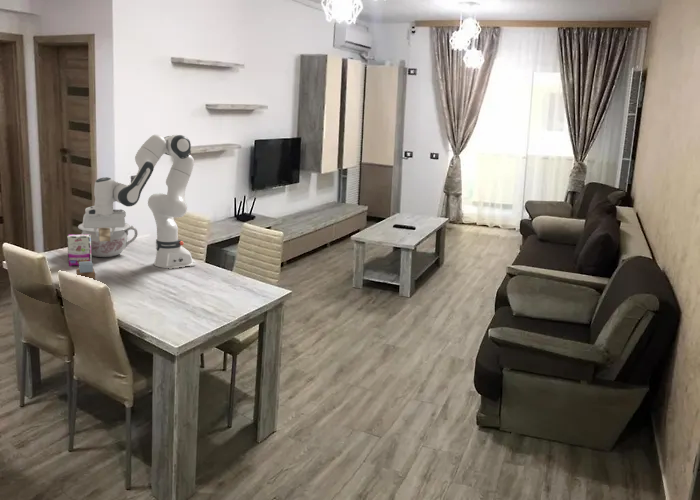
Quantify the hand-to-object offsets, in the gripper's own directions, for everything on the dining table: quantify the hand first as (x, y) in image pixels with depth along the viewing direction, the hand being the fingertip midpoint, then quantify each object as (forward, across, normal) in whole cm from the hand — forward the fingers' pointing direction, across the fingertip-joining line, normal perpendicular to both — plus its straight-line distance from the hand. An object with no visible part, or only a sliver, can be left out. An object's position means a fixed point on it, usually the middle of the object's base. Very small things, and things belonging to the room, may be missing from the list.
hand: (104, 236), depth 313 cm
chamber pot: (+20, -4, -34) cm, 39 cm away
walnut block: (+20, +10, +6) cm, 23 cm away
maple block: (+2, 0, 0) cm, 2 cm away
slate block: (+16, +10, +7) cm, 20 cm away
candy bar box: (+20, +11, -16) cm, 28 cm away
